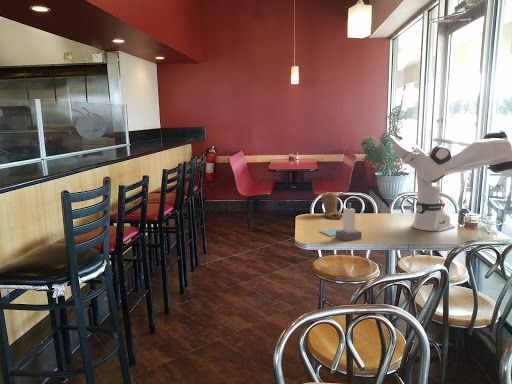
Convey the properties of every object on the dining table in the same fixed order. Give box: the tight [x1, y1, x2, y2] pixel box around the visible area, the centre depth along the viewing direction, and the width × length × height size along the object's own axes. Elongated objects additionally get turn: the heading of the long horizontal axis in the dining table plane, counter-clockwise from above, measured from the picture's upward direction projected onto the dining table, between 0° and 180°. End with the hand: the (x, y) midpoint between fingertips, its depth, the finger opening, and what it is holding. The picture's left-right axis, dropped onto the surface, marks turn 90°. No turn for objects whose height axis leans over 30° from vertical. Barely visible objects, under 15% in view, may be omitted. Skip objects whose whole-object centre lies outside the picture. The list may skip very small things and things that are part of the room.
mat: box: [318, 228, 338, 238], centre depth 214 cm, size 10×10×1 cm
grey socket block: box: [335, 228, 362, 242], centre depth 205 cm, size 10×8×4 cm
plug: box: [342, 202, 356, 233], centre depth 203 cm, size 4×4×18 cm
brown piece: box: [321, 191, 343, 220], centre depth 249 cm, size 15×12×15 cm
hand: (392, 135), depth 196 cm, fingers open, 8 cm apart
